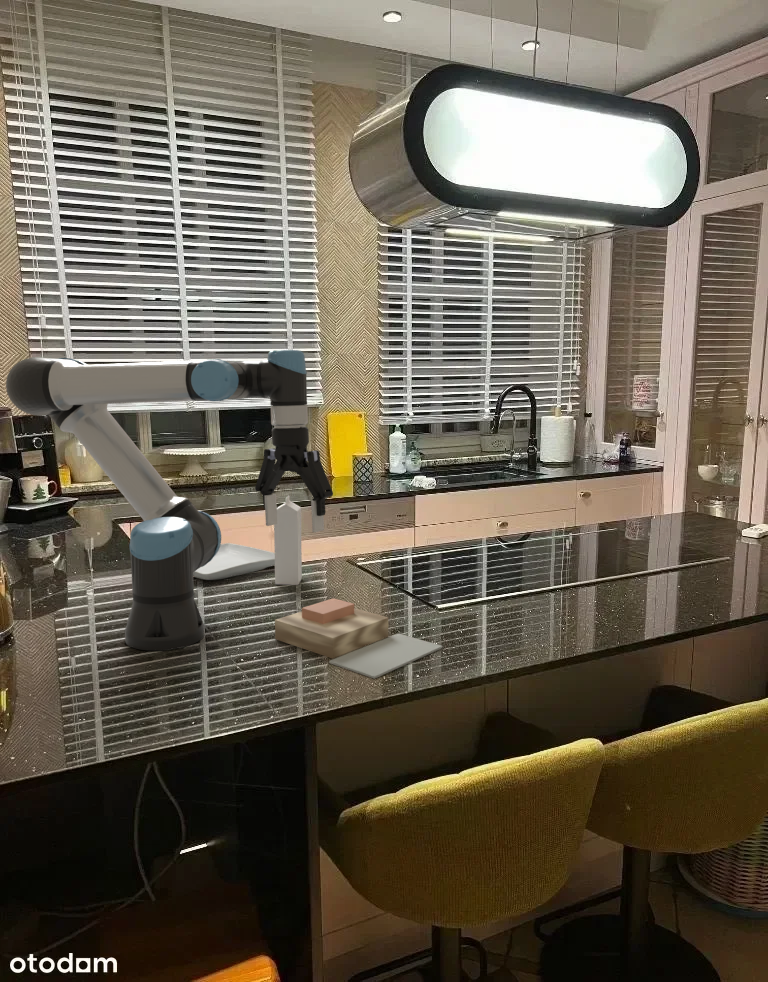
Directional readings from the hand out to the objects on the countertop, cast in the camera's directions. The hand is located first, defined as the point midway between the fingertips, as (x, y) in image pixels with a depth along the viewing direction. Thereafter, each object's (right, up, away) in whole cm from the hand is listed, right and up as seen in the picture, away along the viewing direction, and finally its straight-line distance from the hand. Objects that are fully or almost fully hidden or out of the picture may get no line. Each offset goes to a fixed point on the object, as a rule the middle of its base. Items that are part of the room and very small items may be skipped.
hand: (294, 528), depth 157 cm
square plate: (-27, -14, +49) cm, 57 cm away
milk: (-6, -16, +35) cm, 39 cm away
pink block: (+8, -17, -5) cm, 20 cm away
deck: (+8, -22, -7) cm, 24 cm away
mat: (+19, -23, -16) cm, 34 cm away
